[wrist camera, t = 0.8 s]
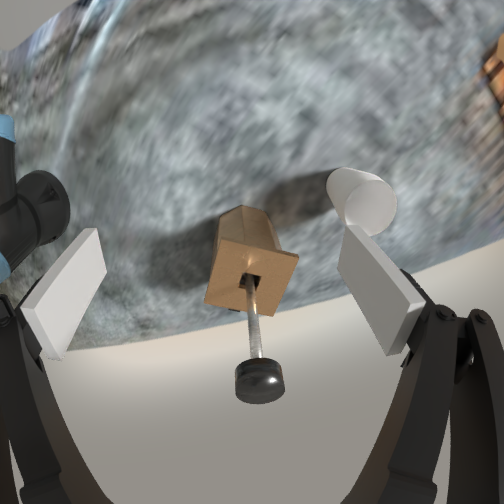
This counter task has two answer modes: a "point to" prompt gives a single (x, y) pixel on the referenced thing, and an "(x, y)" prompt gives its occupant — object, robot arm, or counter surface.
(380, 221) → the cup
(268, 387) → the plunger
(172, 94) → the counter surface
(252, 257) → the block
